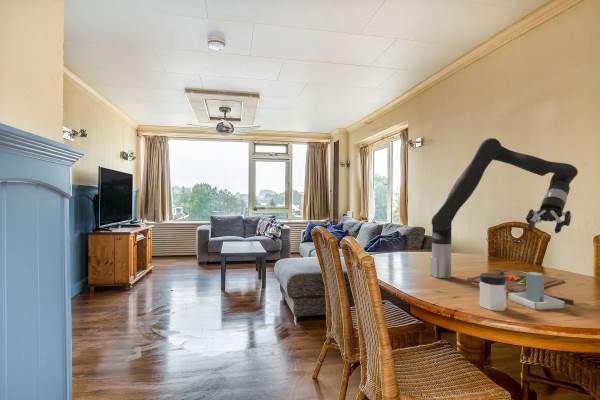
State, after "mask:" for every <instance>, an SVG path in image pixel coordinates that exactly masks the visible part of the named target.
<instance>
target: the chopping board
mask: <svg viewBox="0 0 600 400" xmlns="http://www.w3.org/2000/svg"><path fill="white" fill-rule="evenodd" d="M493 273H495V274H500V275H503V276H505V277H506V293H509V292H510V293H522V292H526V273H528V272H525V271H520V270H512V269H504V270H499V271H494V272H493ZM466 281H468V282H470V283H471V284H472V285H476V286H480V275H475V276H470V277H468V278H466ZM563 283H565V279H562V278H559V277H558V278H557V277H555V276H549V275H544V289H546V288H551V287H553V285H554V286H558V285H560V284H563ZM550 286H551V287H550Z"/></svg>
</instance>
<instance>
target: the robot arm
mask: <svg viewBox="0 0 600 400" xmlns="http://www.w3.org/2000/svg"><path fill="white" fill-rule="evenodd" d="M492 161H497V162H501V163H505V164H508V165H510V166H511V165H512V166H514V167H516V168H519V169H521V170H525V171H527V172H530V173H532V174H535V175H537V176H539V177H544V176H546V175H548V174H549V173H551V174H553V175H552V176H551V179H550V181H549V186H548V189H547V192H546V193H545V195H544V197H543V199H542V202H541V205H540V207H539V209H538V210H534V209H532V208H531V209H530V210H529V211H528V213H527V215H526V217H525V220H526V222H527V224H528V226H527V228H528V230H529V231H530V232H532V231H534V228H535V227H536V224H539V223H542V222H555V223H556V224H555V228H554V233H555V234H559V233H561V231H562V228H563V227H564V226H566V227H569V226H570V224H571V220H572V213H571V211H570V210H567V211H565V212H564V209H565V206H566V204H567V200H568V199H567V198H568V196H569V193H570V190H571V188H570V184H571V183H572V181H573V180H575V178H576V176H577V175H578V173H579V171H578V168H577V167H575V166H574V165H572V164H571V163H565V162H557V161H549V160H546V159H543V158H541V157H539V156H538V157H537V156H534V155H531V154H526V153H521V152H516V151H514V150H510V149H509V148H506V147H505V146H502V143H501V142H500V140H499V139H497V138H494V137H489V138H486V139H484V140H483V141H482V142H481V143H480V144H479V147H478V149H477V151H476V152H475V154H474V156H473V158H472V160H471V161H470V163H468V165H467V166H466V168H465V169H464V170H463V172H462V173H461V174H460V176H459V177H458V178H457V179H456V181H455V183H454V184H453V186H452V188H451V190H450V192H449V193H448V196H447V198H446V199H445V201H444V203H443V204H442V206H441V207H440V208H439V210H437V211H436V213H435V214H434V215H433V216H432V218H431V225H432V227H431V229H432V234H431V257H429V258H430V259H429V260H430V261H429V262H430V263H429V267H430V268H429V271H430V272H429V273H430V274H429V276H432V277H435V278H437V279H438V278H439V279H450V278H452V223H453V220H454V219H455V217H456V215H457V213H458V212H459V210H460V209H461V207H463V205H464V204H465V203H466V202H467V201H468V199H469V198H470V197H471V196H472V195H473V193H474V191H475V190H476V188H477V187H478V186H479V183H480V181H481V180H482V178H483V176H484V173H485V171H486V169H487V168H488V166H489V165H490V164H491V162H492ZM561 217H564V220H562V219H560V218H561Z"/></svg>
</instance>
